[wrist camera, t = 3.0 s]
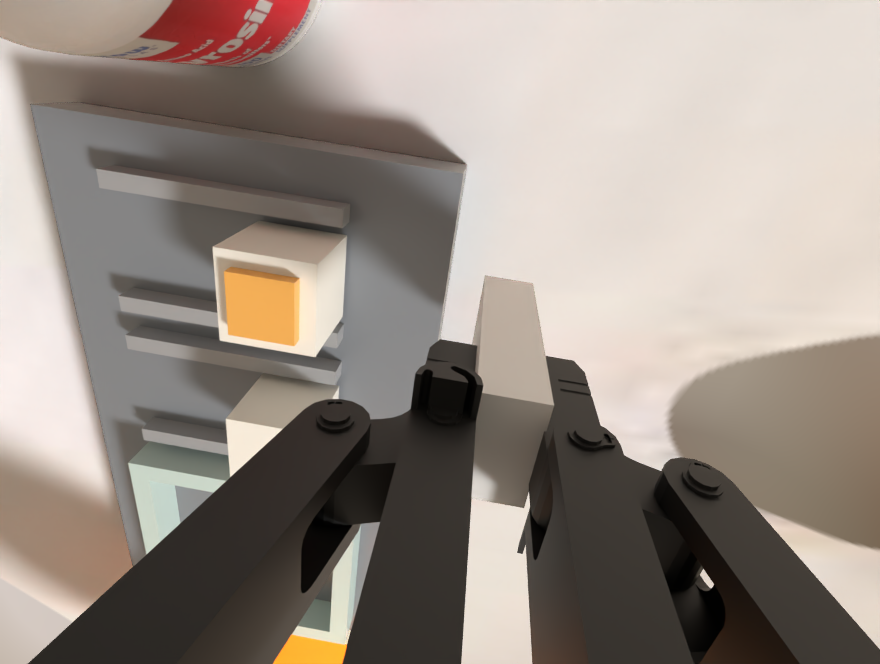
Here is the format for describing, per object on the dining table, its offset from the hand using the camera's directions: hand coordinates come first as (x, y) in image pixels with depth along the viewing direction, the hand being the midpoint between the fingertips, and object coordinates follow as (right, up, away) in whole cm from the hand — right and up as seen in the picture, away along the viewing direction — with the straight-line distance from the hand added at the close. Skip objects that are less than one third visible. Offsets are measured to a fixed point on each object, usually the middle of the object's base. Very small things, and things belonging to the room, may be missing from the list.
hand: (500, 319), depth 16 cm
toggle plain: (-8, -4, +4) cm, 9 cm away
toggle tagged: (-7, +2, +1) cm, 7 cm away
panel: (-9, -4, +7) cm, 12 cm away
